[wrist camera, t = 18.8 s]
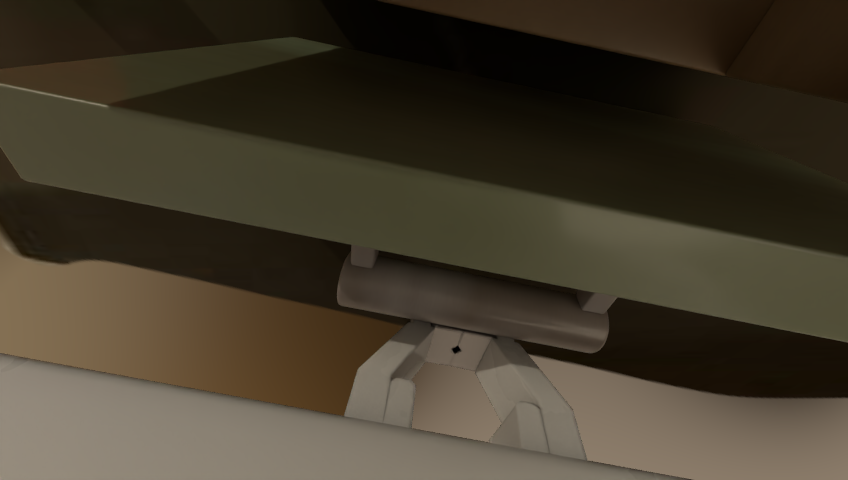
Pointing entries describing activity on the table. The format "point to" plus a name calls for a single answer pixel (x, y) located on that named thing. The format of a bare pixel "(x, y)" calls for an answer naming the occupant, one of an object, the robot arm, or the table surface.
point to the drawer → (479, 165)
